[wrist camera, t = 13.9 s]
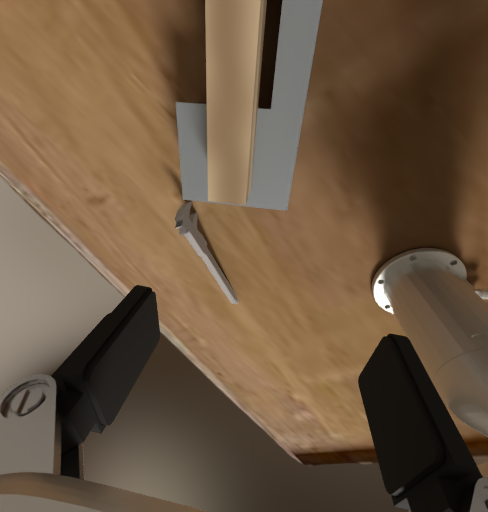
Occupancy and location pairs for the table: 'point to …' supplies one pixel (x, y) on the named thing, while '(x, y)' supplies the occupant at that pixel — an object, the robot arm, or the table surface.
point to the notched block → (261, 117)
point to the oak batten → (232, 94)
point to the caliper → (201, 247)
